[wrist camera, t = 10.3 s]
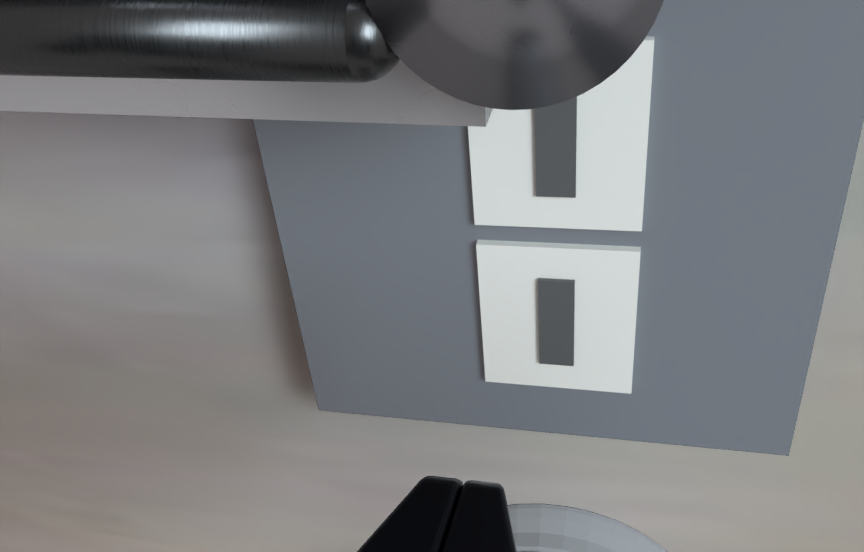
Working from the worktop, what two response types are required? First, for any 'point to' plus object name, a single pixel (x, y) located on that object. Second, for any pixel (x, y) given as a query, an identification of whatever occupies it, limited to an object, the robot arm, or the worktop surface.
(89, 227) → the worktop surface
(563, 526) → the grey rounded piece
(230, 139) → the worktop surface
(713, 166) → the label board
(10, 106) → the swing arm
